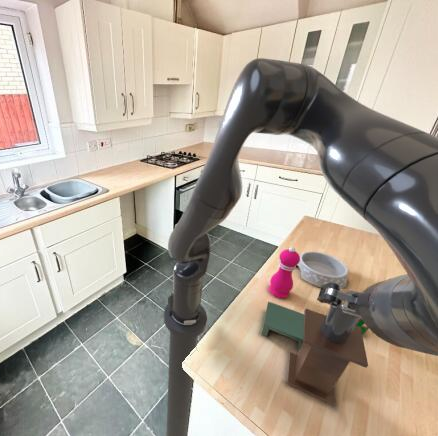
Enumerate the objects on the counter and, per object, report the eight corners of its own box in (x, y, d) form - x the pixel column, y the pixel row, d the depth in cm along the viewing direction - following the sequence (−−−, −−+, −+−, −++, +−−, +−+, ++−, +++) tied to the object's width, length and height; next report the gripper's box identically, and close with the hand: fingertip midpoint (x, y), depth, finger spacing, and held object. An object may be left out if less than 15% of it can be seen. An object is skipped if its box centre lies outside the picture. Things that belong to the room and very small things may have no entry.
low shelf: (260, 335, 74) (263, 324, 72) (264, 311, 81) (268, 301, 79) (305, 354, 68) (310, 342, 66) (306, 327, 76) (310, 316, 74)
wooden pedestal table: (284, 384, 62) (304, 339, 53) (287, 352, 69) (305, 308, 60) (336, 410, 56) (368, 365, 48) (333, 372, 64) (360, 327, 55)
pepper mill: (264, 291, 89) (276, 247, 80) (272, 282, 94) (285, 239, 84) (284, 303, 85) (300, 257, 75) (292, 292, 89) (308, 247, 79)
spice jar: (319, 337, 53) (337, 301, 48) (319, 320, 57) (335, 285, 52) (348, 348, 51) (370, 312, 46) (346, 329, 55) (366, 294, 50)
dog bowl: (329, 260, 105) (333, 250, 102) (356, 291, 89) (362, 280, 86) (287, 258, 106) (290, 248, 104) (307, 288, 90) (312, 278, 88)
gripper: (535, 310, 22) (434, 312, 36) (342, 255, 29) (320, 274, 43) (523, 393, 21) (423, 363, 34) (325, 315, 28) (308, 315, 42)
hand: (366, 314), depth 39 cm, fingers open, 8 cm apart
